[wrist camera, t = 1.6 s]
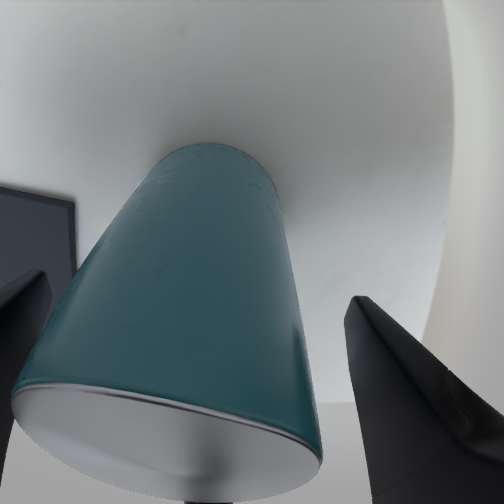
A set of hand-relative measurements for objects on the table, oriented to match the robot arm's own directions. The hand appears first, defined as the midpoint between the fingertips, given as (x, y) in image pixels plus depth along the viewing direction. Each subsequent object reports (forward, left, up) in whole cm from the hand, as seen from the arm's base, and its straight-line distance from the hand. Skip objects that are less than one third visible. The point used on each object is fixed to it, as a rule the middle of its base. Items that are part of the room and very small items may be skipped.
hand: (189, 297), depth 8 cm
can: (0, 0, -5) cm, 5 cm away
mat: (-6, +11, -5) cm, 14 cm away
